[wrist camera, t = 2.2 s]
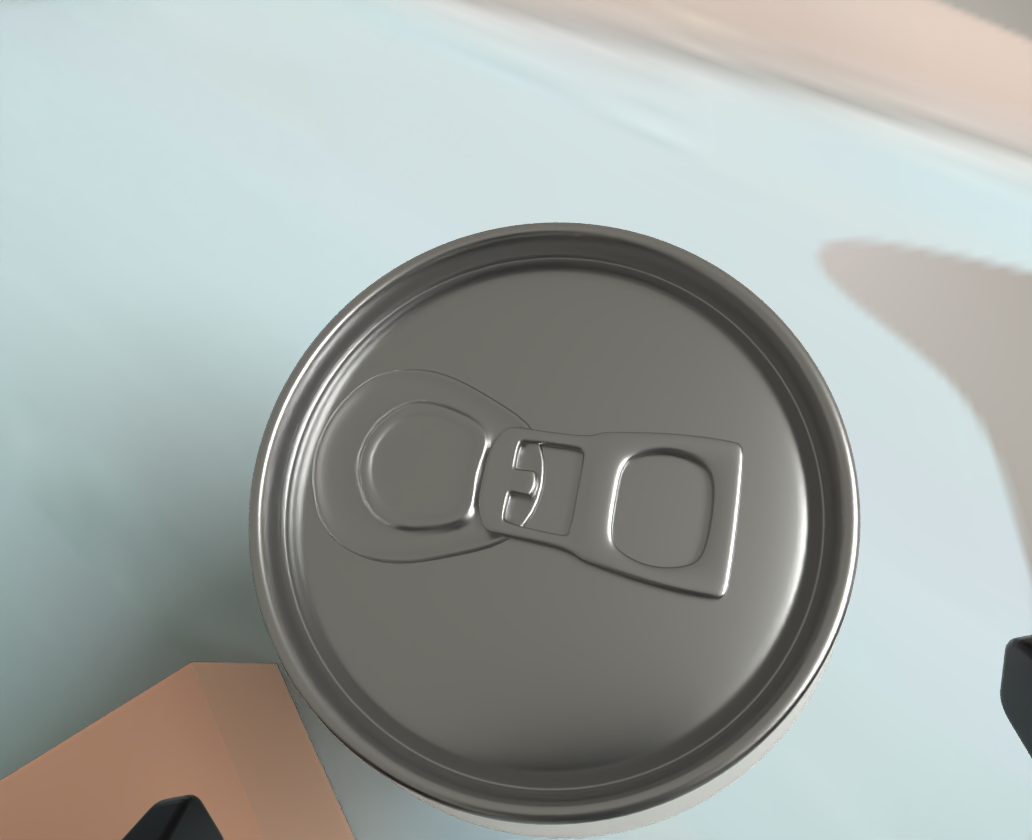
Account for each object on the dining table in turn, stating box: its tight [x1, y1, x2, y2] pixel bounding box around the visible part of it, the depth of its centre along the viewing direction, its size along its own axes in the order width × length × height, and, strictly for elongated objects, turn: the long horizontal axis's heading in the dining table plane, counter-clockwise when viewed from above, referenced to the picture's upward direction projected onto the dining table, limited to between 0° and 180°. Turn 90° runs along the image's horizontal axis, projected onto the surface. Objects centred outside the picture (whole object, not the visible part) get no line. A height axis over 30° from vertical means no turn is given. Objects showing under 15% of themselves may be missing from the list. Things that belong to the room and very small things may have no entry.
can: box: [249, 223, 860, 838], centre depth 12 cm, size 6×6×12 cm
